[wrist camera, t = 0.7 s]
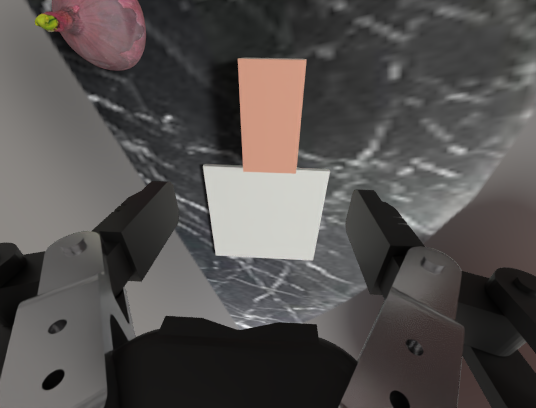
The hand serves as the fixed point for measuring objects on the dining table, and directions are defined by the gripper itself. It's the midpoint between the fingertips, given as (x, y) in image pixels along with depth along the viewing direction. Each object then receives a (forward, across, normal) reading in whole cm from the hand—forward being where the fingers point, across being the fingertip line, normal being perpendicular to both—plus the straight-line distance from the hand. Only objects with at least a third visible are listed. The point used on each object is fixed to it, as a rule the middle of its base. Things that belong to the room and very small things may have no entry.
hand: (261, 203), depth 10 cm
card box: (+17, 0, -1) cm, 17 cm away
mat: (+17, +1, +13) cm, 21 cm away
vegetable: (+17, +13, -8) cm, 23 cm away
